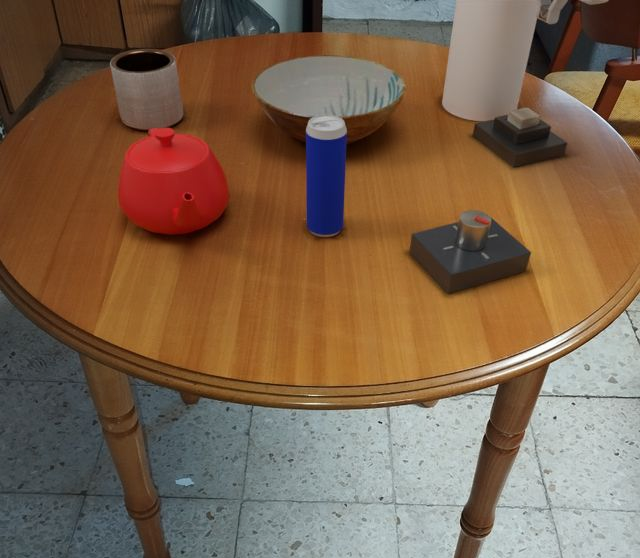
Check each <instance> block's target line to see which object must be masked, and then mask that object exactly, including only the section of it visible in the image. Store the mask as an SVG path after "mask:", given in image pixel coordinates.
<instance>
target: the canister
mask: <svg viewBox="0 0 640 558" xmlns="http://www.w3.org/2000/svg"><path fill="white" fill-rule="evenodd" d="M537 10H538V1H537V0H455V7H454V15H453V21H452V27H451V36H450V41H449V42H450V43H449V49H448V50H449V51H448V57H447V62H446V63H447V65H446V70H445V71H446V72H445V78H444V86H443V92H442V100H441V105H442V107H443V109H444V110H445V111H446V112H448V113H450V114H451V115H453V116H455V117H458V118H460V119H465V120H468V121H474V122H484V121H489V120H493V119H495V117H499V116H504V115H508V114H509V111H512V110H517V109H518V106H519V101H520V98H521V92H522V88H523V83H524V79H525V73H526V70H527V65H528V61H529V57H530V52H531V47H532V42H533V39H534V33H535V30H536V25H537V20H538V18H537V17H536V14H537Z"/></svg>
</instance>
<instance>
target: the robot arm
mask: <svg viewBox="0 0 640 558" xmlns="http://www.w3.org/2000/svg"><path fill="white" fill-rule="evenodd" d="M537 1H538V10H537V14H536V17H537V20H541V21H543V22H544V23H546V24H548V25H555V24H557V23H558V21H559V18H560V14H561V10H563V8H564V7H565V5H566V4H567V2H568V1H569V0H537ZM579 2H582V3H584V4H586V5H589V6H591V5H600V4H604V3H608V2H609V0H579Z"/></svg>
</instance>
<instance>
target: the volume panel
mask: <svg viewBox="0 0 640 558" xmlns="http://www.w3.org/2000/svg"><path fill="white" fill-rule="evenodd" d="M458 223H459V221H456V222H452V223H448V224H445V225H440V226H438V227H433V228H428V229H424V230H421V231H416V232H413V233H411V238H410V244H409V254H410V255H411V257H412V258H414V259H415V261H416V262H417V263H418V264H419V265H420V266H421V267H422V268H423V270H424V271H425V272H427V274H428V275H429V276H430V277H431V278H432V279H433V280H434V281H435V282H436V283H437V284H438V286H440V287H441V288H442V289H443V291H444V292H446V294H447V295H450V294H453V293H457V292H460V291H463V290H467V289H471V288H473V287H477V286H481V285H485V284H488V283H491V282H494V281H499V280H502V279H506V278H508V277H512V276H515V275H519V274H522V273H525V272H527V270H528V266H529V263H530V258H531V254H532V251H530V250H529V249H528V248H527V247H526V246H525V245H524V244H523V243H521V242H520V241H519V240H518V239H517V238H515V237H514V236H513V235H512V234H511V233H509V231H507V230H506V229H505V228H504V227H503V226H501V224H499V222H497V221H496V220H495V219H494V218H492V217H491V225H490V229H489V234H488V238H487V243H486V246H485V247H484V248H483V249H481V250H478V251H468V250H464V249H462V248H460V247H459V246H457V244H456V242H455V239H456V234H457V228H458Z"/></svg>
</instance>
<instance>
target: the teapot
mask: <svg viewBox="0 0 640 558" xmlns="http://www.w3.org/2000/svg"><path fill="white" fill-rule="evenodd" d="M147 135H148V136H145V137H143V138H141V139H139V140H137V141H136V142H134V143H132V144H131V145H130V146H129V147H128V149H126V150H125V153H124V156H123V161H122V164H121V168H120V172H119V178H118V190H117V193H118V194H117V197H118V205H119V207H120V209H121V210H122V212H123V214H124V215H125V216H126V217H127V218H128V220H129V222H131V223H132V224H134V226H135V225H136V226H137V227H140V228H142V229H144V230H146V231H148V232H151V233H154V234H161V235H167V236H171V235H172V236H173V235H186V234H190V233H192V232H196V231H199V230H202V229H204V228H207V226H209V225H211V224H212V223H214V222H215V221H217V220H218V219H219V218H220V217H221V216H222V214H223V213H224V211H225V210H226V208H227V207H228V205H229V203H230V202H229V201H230V195H231V194H230V188H229V183H228V178H227V175H226V173H225V170H224V169H223V166H222V165H221V163H220V162H219V159H218V158H217V156H216V155H215V153H214V152H213V150H212V149H211V147H210V146H209V145H208V144H207V142H205V141H204V140H203V139H202V138H200V137H197V136H193V135H191V134H185V133H177V132H175V130H174V129H173V128H172V127H169V128H160V129H158V128H153V129H151V130H149V131H147Z"/></svg>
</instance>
